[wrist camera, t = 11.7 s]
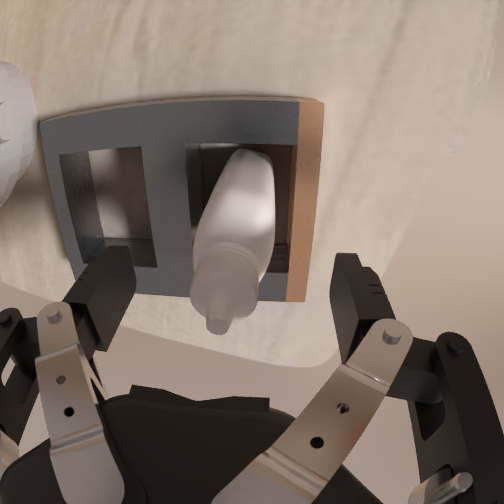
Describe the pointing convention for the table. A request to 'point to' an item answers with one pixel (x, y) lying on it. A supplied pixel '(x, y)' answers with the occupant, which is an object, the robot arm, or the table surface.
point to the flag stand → (15, 127)
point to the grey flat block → (183, 181)
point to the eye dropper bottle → (234, 241)
